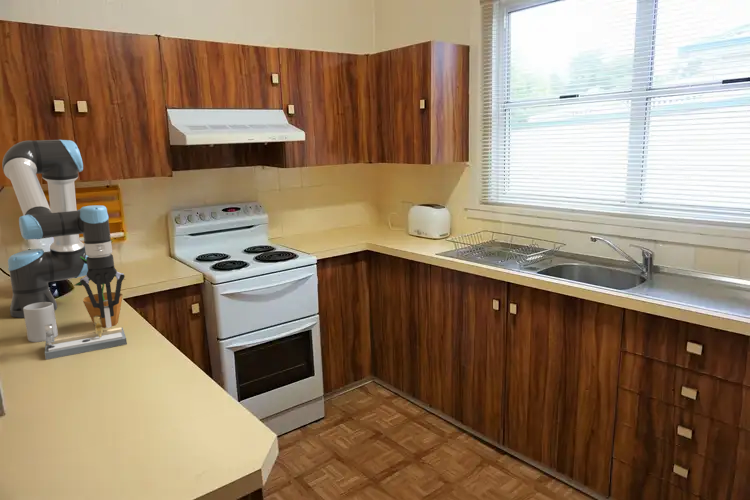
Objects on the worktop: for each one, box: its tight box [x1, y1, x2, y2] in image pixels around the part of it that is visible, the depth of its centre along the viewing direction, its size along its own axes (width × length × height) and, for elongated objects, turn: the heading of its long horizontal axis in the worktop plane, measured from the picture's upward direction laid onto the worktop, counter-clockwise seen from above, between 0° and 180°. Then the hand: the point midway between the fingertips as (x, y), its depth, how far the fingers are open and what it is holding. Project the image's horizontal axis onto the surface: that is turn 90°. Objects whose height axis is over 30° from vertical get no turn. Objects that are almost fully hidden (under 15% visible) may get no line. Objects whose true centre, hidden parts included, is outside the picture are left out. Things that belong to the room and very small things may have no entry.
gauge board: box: [44, 327, 128, 360], centre depth 169 cm, size 12×22×3 cm, turn 120°
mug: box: [23, 302, 59, 343], centre depth 178 cm, size 12×8×11 cm
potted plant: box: [74, 237, 126, 329], centre depth 186 cm, size 18×19×30 cm
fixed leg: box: [45, 324, 56, 347], centre depth 164 cm, size 8×2×5 cm, turn 30°
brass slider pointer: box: [93, 315, 103, 338], centre depth 170 cm, size 8×2×5 cm, turn 30°
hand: (108, 326), depth 174 cm, fingers closed
